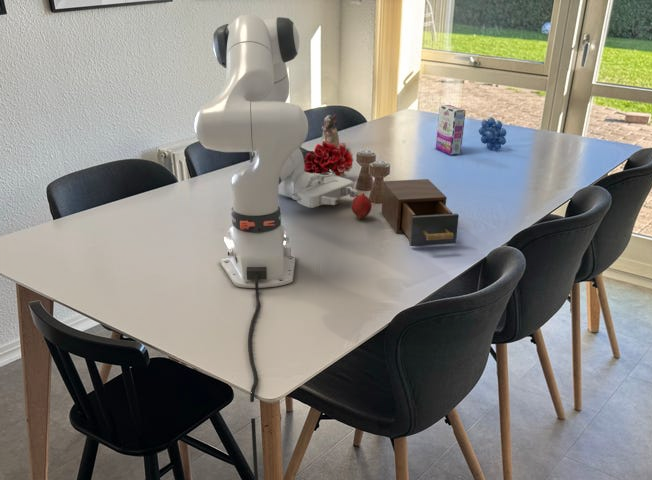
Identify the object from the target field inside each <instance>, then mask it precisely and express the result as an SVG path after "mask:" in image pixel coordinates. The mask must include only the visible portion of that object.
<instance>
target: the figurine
mask: <svg viewBox="0 0 652 480" xmlns="http://www.w3.org/2000/svg"><path fill="white" fill-rule="evenodd" d="M336 118H337V115H336V114H334V115H331V114H328V115H326V116H325V117H324V118H323V119H324V120H323V124H322V126H321V129H322V135H321V140H320V145H321V146H323V143H324V142H325V143H329V144H332V143H333V144H334V145H335V147H338V145H339V144H340V139H339V138H340V137H339V134H338V133H339V132H338V129H337V128H338V121H337V120H336Z"/></svg>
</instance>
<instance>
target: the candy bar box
mask: <svg viewBox="0 0 652 480" xmlns="http://www.w3.org/2000/svg"><path fill="white" fill-rule="evenodd" d="M465 120H466V109H463V108H460V107H457V106H454V105H451V104H443V105H439V109H438V118H437V121H438V122H437V131H436V141H435V149H436V150H438V151H440V152H441V153H442V152H443V153H444V154H446V155H449V156H459V155H461V154H462V146H463V138H464V129H465Z"/></svg>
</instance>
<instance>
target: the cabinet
mask: <svg viewBox="0 0 652 480" xmlns="http://www.w3.org/2000/svg"><path fill="white" fill-rule="evenodd" d="M381 197H382V199H381V214H382V216H383V217H384V218H385V220H386V221H387V223H388V224H389V225H390V227H391V228H392V230H393V231H394V232H395V234H405V233H404V231H403V230H402V229H401V227H400V217H401V202H419V201H438V200H440V201H441V202H442V203H443V204H444V205H445V206H446V207H447V196H446V195H445V194H444V193H443V192H442V190H440V189H439V188H438V187H437V186H436V185H435V184H434V183H433V182H432V181H431V180H430V179H429V178H422V179H402V180H400V179H399V180H398V179H397V180H383V181H382V196H381Z"/></svg>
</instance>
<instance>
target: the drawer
mask: <svg viewBox="0 0 652 480" xmlns="http://www.w3.org/2000/svg"><path fill="white" fill-rule="evenodd" d="M459 216H460V215H459V213H453V212H452V211H451V209H449V207H448V206H447V205H446V206H445V205H444V204H443V203H442V202H441V201H440V200H438V201H419V202H401V217H400V227H401V229H402V230H403V231H404V233H403V234H405V235H406V237H407V238H408V239H409V246H410V247H417V246H419V247H420V246H433V245H447V244H448V245H449V244H456V243H457V236H458V235H457V233H458V225H459Z"/></svg>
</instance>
